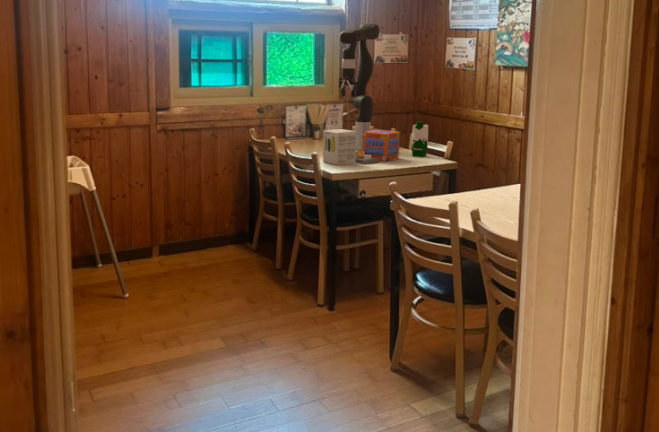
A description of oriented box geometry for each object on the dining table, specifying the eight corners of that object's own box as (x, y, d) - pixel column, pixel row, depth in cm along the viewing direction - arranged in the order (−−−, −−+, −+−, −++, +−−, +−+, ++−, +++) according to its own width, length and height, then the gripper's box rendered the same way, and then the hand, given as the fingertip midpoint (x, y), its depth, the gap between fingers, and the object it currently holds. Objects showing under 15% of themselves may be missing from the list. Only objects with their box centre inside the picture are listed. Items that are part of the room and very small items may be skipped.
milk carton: (410, 156, 413) (411, 122, 408) (413, 154, 421) (415, 120, 417) (425, 157, 410) (426, 122, 406) (428, 155, 419) (429, 121, 414)
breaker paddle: (362, 156, 397) (361, 151, 397) (365, 155, 395) (364, 150, 395) (356, 157, 394) (354, 152, 394) (358, 156, 392) (357, 151, 392)
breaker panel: (357, 158, 405) (357, 151, 404) (379, 162, 391) (379, 155, 390) (342, 159, 398) (342, 152, 397) (363, 164, 384) (364, 156, 384)
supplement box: (322, 162, 390) (322, 130, 386) (341, 160, 398) (341, 128, 394) (337, 165, 380) (337, 132, 376) (356, 163, 388) (356, 131, 384)
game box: (361, 159, 401) (362, 132, 398) (375, 156, 414) (375, 129, 411) (386, 162, 393) (387, 134, 390) (399, 158, 406) (400, 131, 402)
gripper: (361, 67, 398) (361, 97, 402) (345, 67, 409) (345, 95, 412) (351, 67, 393) (351, 97, 397) (335, 67, 404) (335, 96, 408)
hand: (348, 96), depth 405 cm, fingers open, 8 cm apart
